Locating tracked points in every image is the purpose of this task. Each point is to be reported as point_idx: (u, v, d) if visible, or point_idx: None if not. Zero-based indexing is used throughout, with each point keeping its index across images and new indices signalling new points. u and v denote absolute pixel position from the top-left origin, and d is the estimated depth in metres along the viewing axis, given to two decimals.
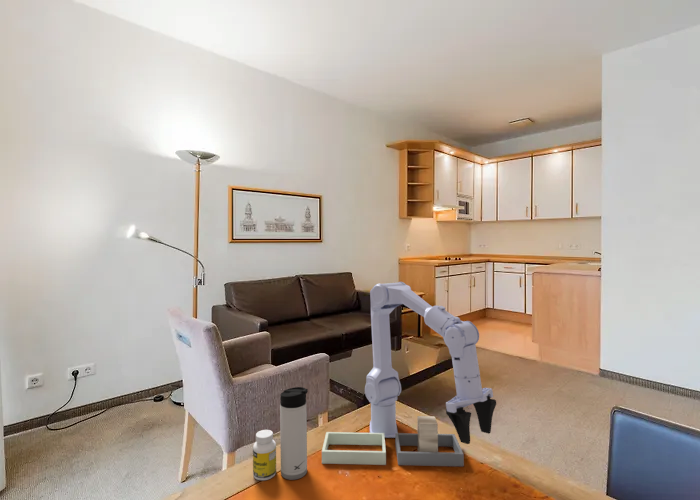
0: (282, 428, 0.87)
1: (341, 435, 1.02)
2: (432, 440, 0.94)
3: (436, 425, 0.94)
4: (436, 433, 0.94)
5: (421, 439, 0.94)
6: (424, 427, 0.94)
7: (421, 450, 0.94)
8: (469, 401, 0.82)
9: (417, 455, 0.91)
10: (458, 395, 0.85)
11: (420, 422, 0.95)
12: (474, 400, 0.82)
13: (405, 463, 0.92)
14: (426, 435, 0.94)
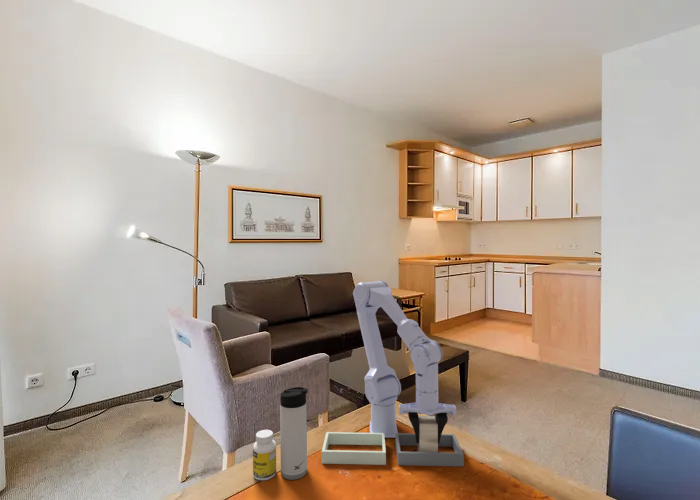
0: (282, 428, 0.87)
1: (341, 435, 1.02)
2: (432, 440, 0.94)
3: (436, 425, 0.94)
4: (436, 433, 0.94)
5: (421, 439, 0.94)
6: (424, 427, 0.94)
7: (421, 450, 0.94)
8: (416, 410, 0.94)
9: (417, 455, 0.91)
10: None
11: (420, 422, 0.95)
12: (421, 411, 0.94)
13: (405, 463, 0.92)
14: (426, 434, 0.94)
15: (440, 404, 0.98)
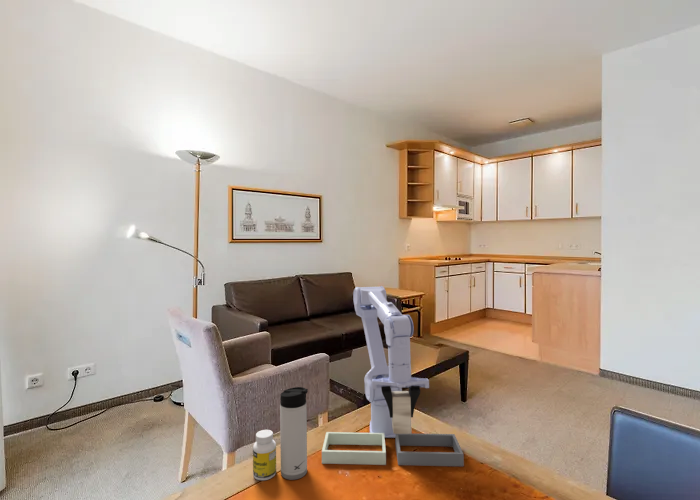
0: (282, 428, 0.87)
1: (341, 435, 1.02)
2: (405, 413, 0.93)
3: (409, 398, 0.94)
4: (409, 406, 0.93)
5: (394, 413, 0.93)
6: (397, 400, 0.94)
7: (394, 424, 0.93)
8: (388, 383, 0.94)
9: (417, 455, 0.91)
10: None
11: (393, 395, 0.95)
12: (393, 384, 0.94)
13: (405, 463, 0.92)
14: (399, 408, 0.93)
15: (413, 378, 0.98)
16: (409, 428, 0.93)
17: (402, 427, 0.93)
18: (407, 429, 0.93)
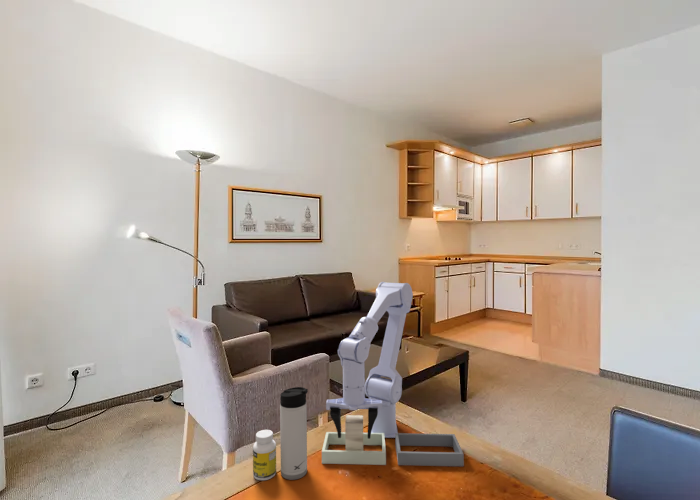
0: (282, 428, 0.87)
1: (341, 435, 1.02)
2: (357, 439, 0.95)
3: (361, 424, 0.95)
4: (361, 432, 0.95)
5: (347, 438, 0.95)
6: (350, 426, 0.95)
7: (347, 449, 0.95)
8: (341, 405, 0.95)
9: (417, 455, 0.91)
10: None
11: (347, 421, 0.96)
12: (346, 406, 0.95)
13: (405, 463, 0.92)
14: (352, 433, 0.95)
15: (368, 399, 0.99)
16: None
17: None
18: None
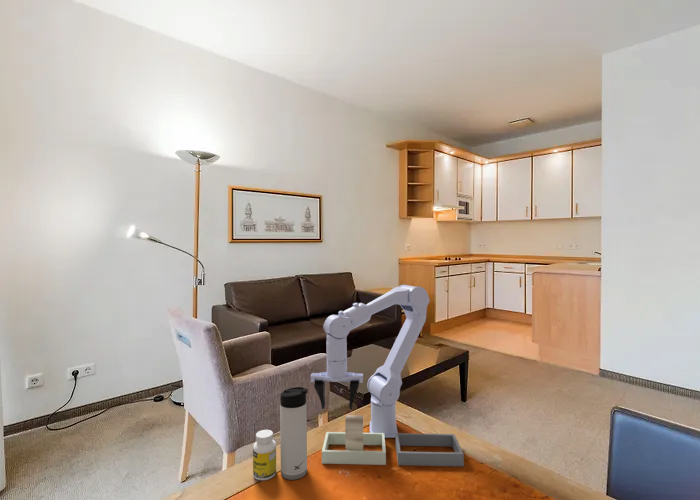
0: (282, 428, 0.87)
1: (341, 435, 1.02)
2: (357, 439, 0.95)
3: (361, 424, 0.95)
4: (361, 432, 0.95)
5: (347, 438, 0.95)
6: (350, 426, 0.95)
7: (347, 449, 0.95)
8: (325, 378, 1.02)
9: (417, 455, 0.91)
10: None
11: (347, 421, 0.96)
12: (329, 378, 1.01)
13: (405, 463, 0.92)
14: (352, 434, 0.95)
15: (350, 373, 1.05)
16: None
17: None
18: None
